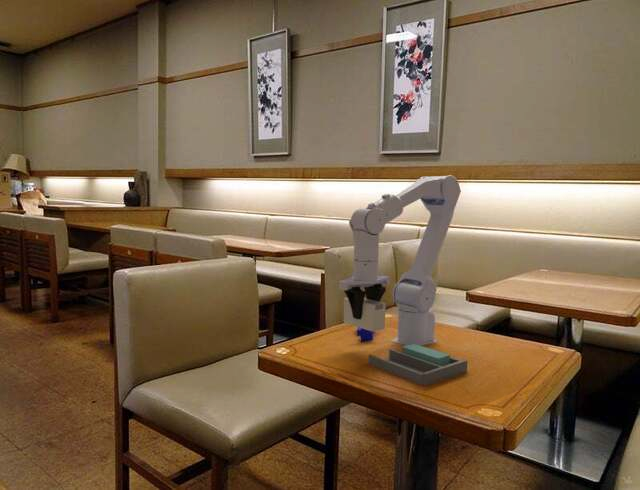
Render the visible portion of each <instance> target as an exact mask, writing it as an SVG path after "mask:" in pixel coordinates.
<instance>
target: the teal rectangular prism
mask: <svg viewBox="0 0 640 490" xmlns="http://www.w3.org/2000/svg"><path fill="white" fill-rule="evenodd" d="M401 353H404V354H407V355H410V356H413V357H416V358H419V359H422V360H425V361H428V362H430V363H433V364H436V365H439V366H442V367H443V366H446V365H449V364H450V357H451V354H449V353H445V352H442V351H438V350H436V349H432V348H429V347H427V346H424V345H422V346H420V345H417V344H411V345H403V346H402V350H401Z"/></svg>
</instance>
